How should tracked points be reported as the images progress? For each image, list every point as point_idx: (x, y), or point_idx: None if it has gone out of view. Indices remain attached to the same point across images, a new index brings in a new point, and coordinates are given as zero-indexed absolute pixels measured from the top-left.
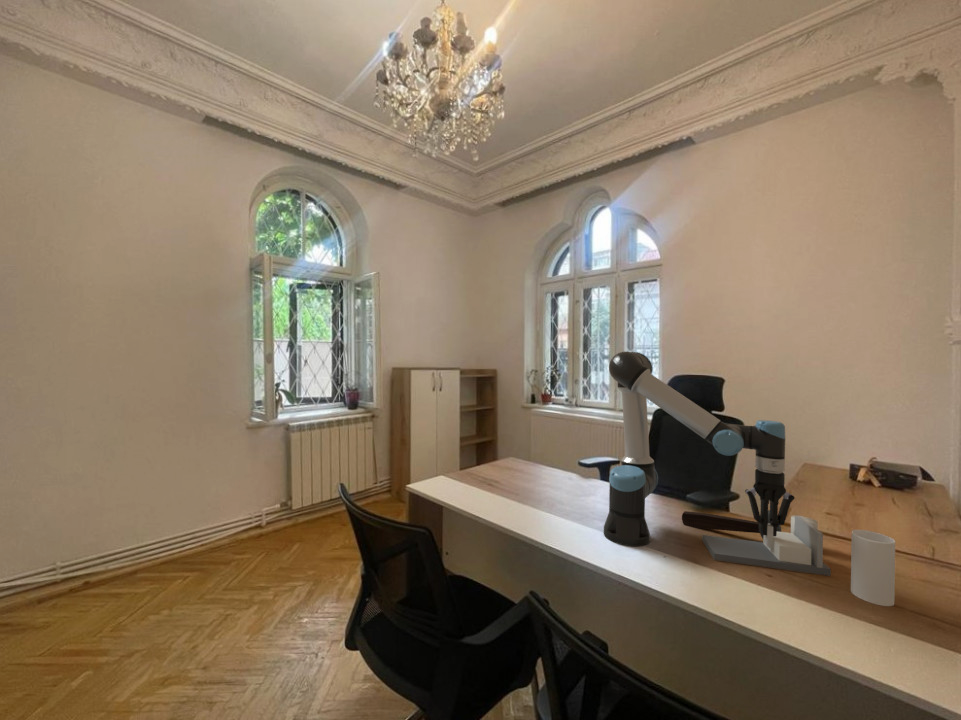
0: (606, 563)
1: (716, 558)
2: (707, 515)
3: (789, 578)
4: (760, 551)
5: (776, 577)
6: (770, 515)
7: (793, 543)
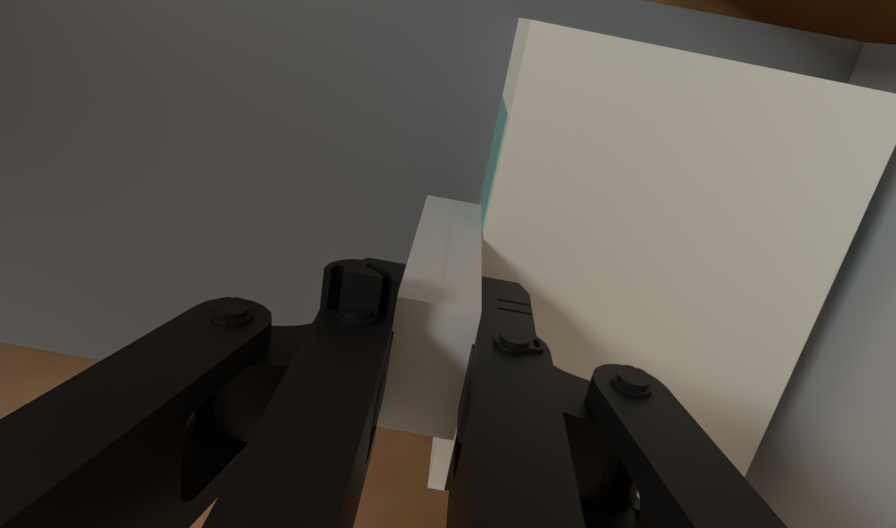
0: None
1: None
2: None
3: (418, 497)
4: (365, 237)
5: None
6: (468, 443)
7: None
